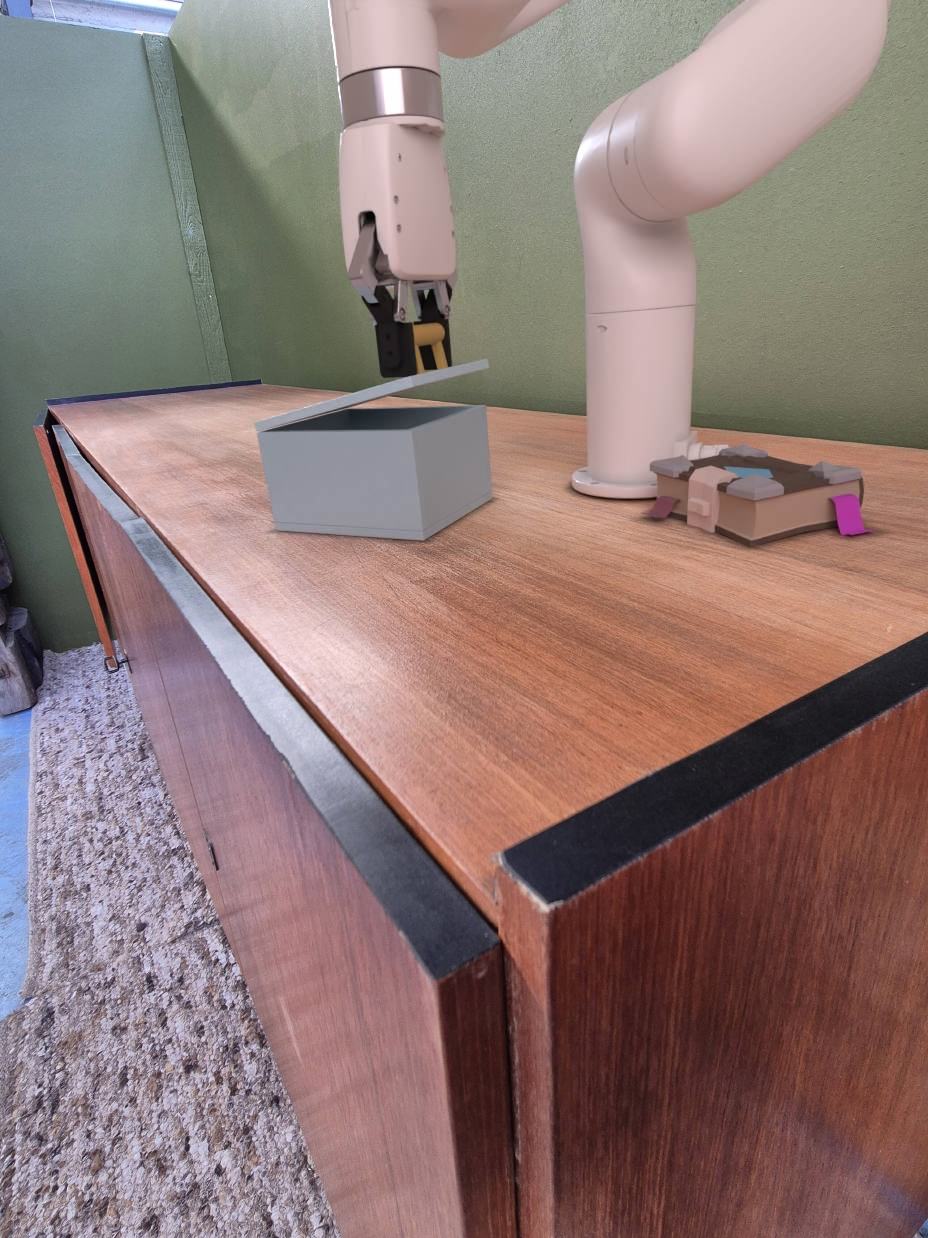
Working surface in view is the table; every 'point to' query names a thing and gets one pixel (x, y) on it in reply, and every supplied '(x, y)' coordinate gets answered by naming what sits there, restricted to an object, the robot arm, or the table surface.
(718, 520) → the book
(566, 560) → the table surface
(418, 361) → the lid
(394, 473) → the chest
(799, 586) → the table surface
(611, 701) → the table surface
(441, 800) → the table surface
